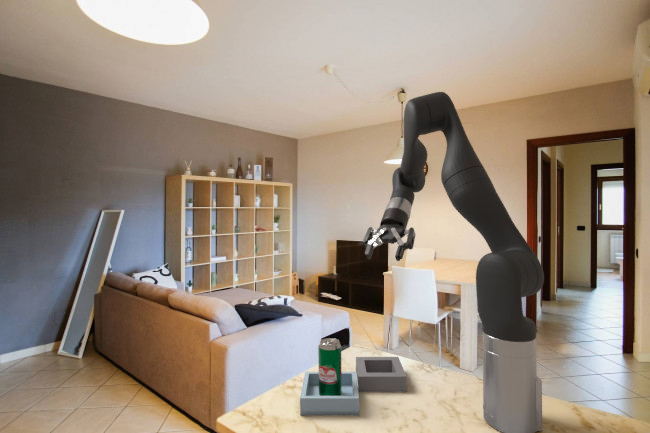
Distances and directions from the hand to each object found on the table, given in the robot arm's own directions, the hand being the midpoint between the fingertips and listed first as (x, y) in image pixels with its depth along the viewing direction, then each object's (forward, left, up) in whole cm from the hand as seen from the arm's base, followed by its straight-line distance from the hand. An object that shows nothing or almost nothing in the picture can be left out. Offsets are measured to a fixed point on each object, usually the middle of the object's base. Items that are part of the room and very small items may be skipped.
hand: (382, 258), depth 95 cm
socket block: (+2, +10, -29) cm, 30 cm away
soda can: (+14, +19, -28) cm, 36 cm away
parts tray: (+14, +19, -29) cm, 37 cm away
